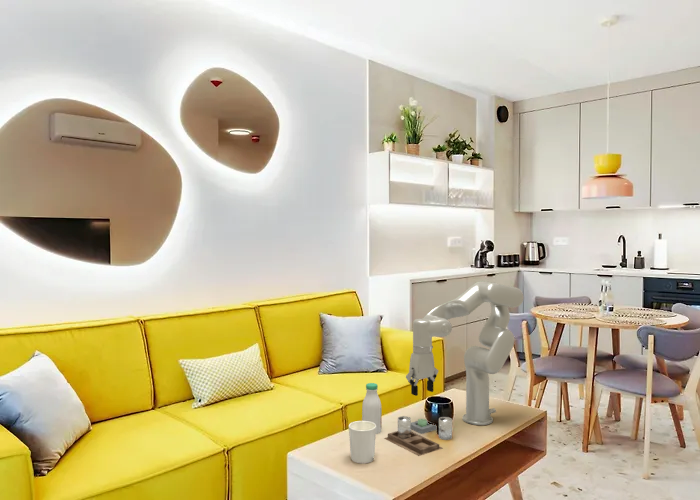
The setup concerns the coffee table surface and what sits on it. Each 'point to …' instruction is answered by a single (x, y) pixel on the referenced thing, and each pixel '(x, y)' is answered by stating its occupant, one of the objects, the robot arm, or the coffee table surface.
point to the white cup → (362, 441)
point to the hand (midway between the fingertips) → (422, 392)
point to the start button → (422, 422)
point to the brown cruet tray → (414, 443)
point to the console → (423, 429)
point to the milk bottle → (372, 407)
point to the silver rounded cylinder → (445, 428)
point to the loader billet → (404, 427)
